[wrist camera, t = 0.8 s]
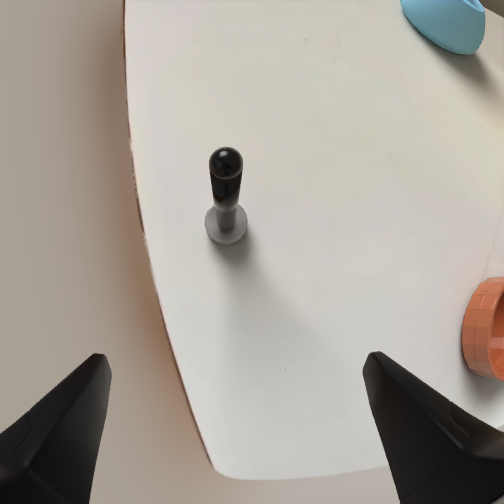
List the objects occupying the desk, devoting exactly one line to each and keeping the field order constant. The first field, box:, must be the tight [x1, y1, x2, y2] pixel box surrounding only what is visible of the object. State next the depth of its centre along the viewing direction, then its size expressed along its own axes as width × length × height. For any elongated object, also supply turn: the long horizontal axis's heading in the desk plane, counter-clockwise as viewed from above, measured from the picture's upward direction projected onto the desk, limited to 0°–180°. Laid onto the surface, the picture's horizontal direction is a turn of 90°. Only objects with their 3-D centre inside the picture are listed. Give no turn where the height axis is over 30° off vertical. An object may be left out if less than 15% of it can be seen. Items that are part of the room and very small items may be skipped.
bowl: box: [462, 277, 504, 381], centre depth 23 cm, size 11×11×4 cm
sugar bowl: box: [400, 0, 485, 54], centre depth 25 cm, size 15×15×12 cm
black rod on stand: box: [205, 147, 247, 245], centre depth 18 cm, size 3×3×13 cm
